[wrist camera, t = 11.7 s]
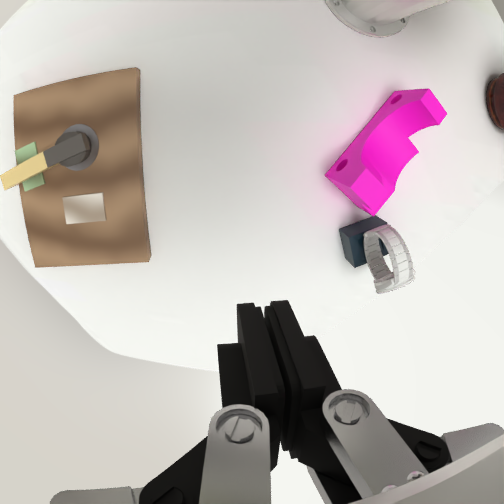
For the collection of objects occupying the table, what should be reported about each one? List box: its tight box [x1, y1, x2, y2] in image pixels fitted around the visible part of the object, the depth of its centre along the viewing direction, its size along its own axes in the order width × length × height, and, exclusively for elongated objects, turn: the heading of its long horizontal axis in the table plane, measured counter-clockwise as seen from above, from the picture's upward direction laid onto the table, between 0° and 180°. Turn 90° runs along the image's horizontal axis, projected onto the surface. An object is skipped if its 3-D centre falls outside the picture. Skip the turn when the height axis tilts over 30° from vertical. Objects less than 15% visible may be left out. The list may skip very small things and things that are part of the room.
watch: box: [339, 215, 415, 294], centre depth 35 cm, size 6×8×11 cm
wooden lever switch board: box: [14, 67, 151, 267], centre depth 31 cm, size 22×16×2 cm
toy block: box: [325, 89, 447, 217], centre depth 32 cm, size 15×6×8 cm, turn 141°
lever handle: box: [0, 131, 92, 190], centre depth 27 cm, size 12×4×4 cm, turn 104°
